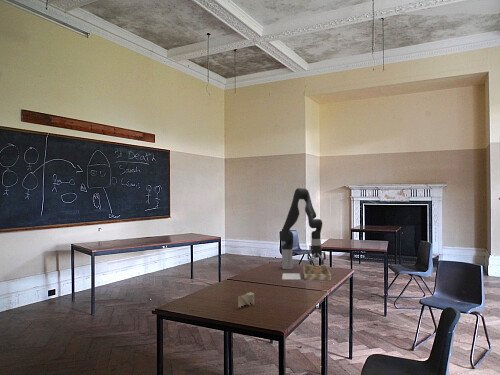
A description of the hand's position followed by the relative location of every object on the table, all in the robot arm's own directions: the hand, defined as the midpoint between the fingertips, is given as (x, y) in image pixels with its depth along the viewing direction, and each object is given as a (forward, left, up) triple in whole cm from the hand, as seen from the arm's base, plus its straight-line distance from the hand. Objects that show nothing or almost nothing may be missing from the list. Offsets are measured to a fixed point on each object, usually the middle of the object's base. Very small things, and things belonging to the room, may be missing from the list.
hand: (316, 265), depth 288 cm
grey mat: (-20, 0, -9) cm, 22 cm away
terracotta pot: (0, 0, -9) cm, 9 cm away
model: (-47, -78, -10) cm, 92 cm away
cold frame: (0, 0, -9) cm, 9 cm away
